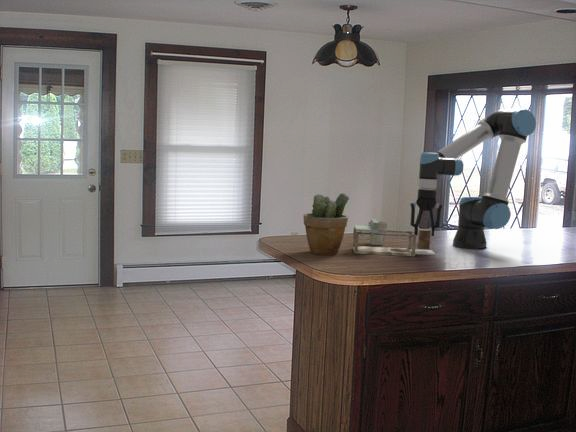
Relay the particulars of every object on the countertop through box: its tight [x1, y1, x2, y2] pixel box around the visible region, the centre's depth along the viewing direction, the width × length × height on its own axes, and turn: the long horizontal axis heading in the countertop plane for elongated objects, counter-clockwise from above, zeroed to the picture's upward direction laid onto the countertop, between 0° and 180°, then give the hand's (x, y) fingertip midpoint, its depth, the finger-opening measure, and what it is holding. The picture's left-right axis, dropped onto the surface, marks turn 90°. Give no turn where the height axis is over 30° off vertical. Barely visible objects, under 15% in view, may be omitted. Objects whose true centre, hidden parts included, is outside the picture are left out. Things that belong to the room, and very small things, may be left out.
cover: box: [353, 218, 379, 233], centre depth 292 cm, size 9×12×4 cm
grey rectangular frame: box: [351, 227, 417, 257], centre depth 293 cm, size 25×12×9 cm, turn 89°
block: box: [416, 228, 431, 250], centre depth 296 cm, size 4×4×8 cm
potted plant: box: [302, 192, 350, 256], centre depth 284 cm, size 18×19×25 cm
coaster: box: [411, 248, 436, 256], centre depth 297 cm, size 9×9×1 cm
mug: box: [359, 220, 388, 246], centre depth 314 cm, size 8×13×10 cm, turn 78°
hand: (423, 243), depth 296 cm, fingers closed on block, 4 cm apart
